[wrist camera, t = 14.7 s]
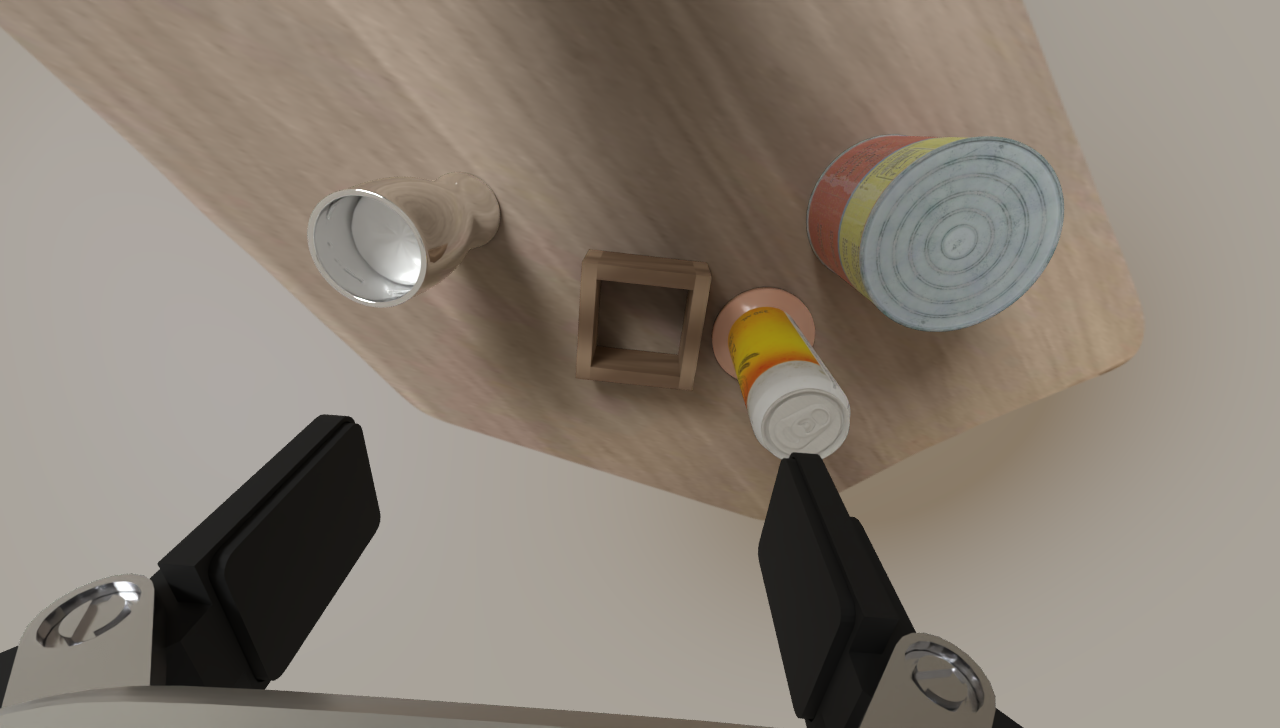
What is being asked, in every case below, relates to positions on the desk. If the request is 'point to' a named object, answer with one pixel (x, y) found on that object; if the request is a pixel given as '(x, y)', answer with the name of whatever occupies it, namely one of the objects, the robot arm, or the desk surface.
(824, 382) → the beer can
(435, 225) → the beer glass
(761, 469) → the desk surface
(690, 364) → the can holder
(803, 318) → the peach flat disc
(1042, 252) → the canned food
